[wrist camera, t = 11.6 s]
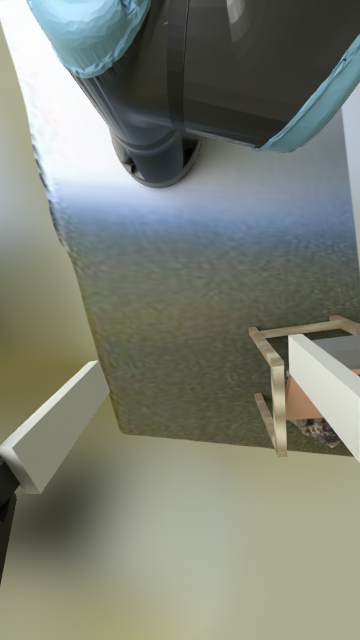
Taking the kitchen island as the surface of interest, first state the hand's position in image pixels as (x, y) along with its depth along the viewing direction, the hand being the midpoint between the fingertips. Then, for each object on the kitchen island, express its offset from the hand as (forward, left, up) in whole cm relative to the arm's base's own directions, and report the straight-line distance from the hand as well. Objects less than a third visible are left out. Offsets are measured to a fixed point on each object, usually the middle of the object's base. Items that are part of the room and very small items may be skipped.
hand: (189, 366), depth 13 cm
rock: (+27, +22, -22) cm, 41 cm away
